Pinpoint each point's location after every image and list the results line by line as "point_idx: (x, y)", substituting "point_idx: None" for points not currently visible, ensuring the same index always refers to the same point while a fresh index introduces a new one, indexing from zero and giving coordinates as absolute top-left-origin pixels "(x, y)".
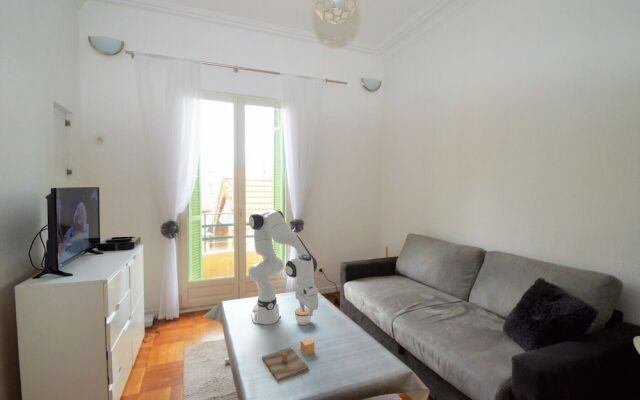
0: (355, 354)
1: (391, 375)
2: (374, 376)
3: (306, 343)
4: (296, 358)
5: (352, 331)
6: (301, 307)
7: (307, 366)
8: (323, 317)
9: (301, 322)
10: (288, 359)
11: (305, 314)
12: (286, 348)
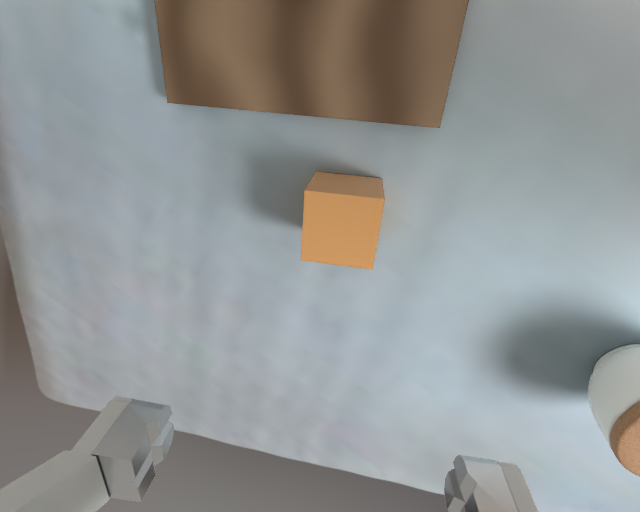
0: (194, 354)
1: (33, 353)
2: (41, 311)
3: (320, 211)
4: (290, 86)
5: (348, 450)
6: (479, 501)
7: (177, 101)
8: (560, 457)
9: (624, 356)
10: (313, 22)
11: (636, 423)
12: (447, 89)
